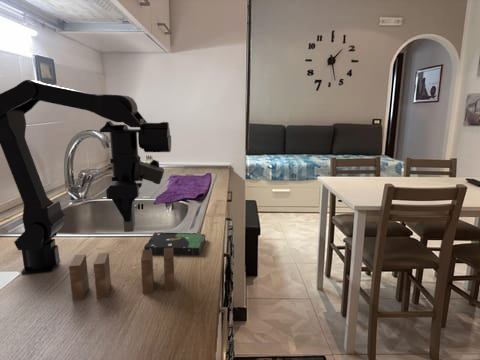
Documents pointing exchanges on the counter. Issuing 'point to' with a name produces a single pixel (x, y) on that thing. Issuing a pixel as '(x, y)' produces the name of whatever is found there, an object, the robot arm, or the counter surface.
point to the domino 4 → (147, 271)
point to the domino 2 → (102, 275)
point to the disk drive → (176, 243)
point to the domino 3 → (130, 225)
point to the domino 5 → (169, 269)
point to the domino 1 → (79, 277)
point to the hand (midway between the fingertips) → (129, 217)
